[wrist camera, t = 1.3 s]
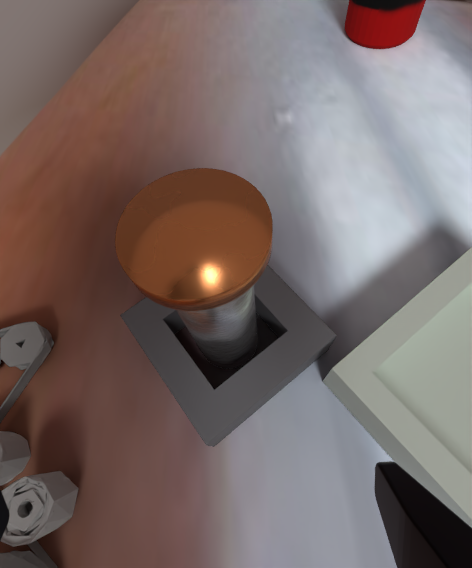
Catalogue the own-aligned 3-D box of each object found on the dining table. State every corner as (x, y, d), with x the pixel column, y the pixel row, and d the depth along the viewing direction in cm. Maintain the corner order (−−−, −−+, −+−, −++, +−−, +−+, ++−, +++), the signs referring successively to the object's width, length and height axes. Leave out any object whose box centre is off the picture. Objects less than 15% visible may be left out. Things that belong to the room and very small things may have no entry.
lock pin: (286, 345, 23) (306, 233, 12) (220, 399, 22) (169, 333, 10) (236, 288, 25) (210, 147, 14) (173, 334, 24) (88, 221, 13)
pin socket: (328, 349, 23) (336, 335, 20) (213, 446, 21) (206, 445, 18) (240, 256, 27) (237, 234, 24) (136, 330, 25) (120, 315, 22)
